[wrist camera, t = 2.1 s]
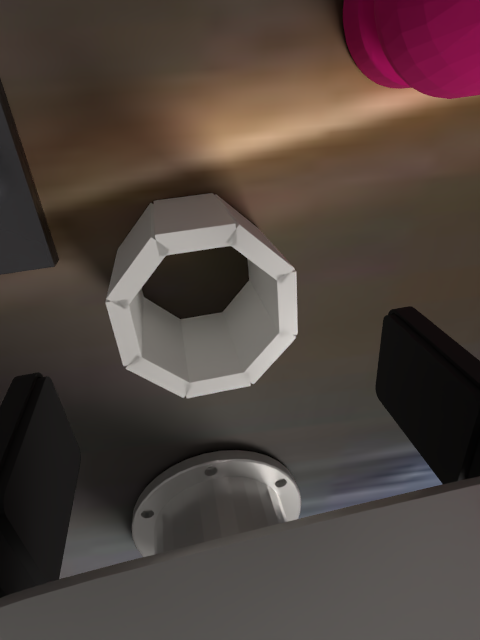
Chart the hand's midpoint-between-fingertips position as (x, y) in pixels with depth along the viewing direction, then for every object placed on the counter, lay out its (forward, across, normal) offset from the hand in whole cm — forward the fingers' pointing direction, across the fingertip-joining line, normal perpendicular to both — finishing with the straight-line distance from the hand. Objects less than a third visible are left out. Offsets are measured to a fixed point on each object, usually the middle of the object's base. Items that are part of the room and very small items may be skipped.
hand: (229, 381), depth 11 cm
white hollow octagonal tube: (+11, 0, +1) cm, 11 cm away
